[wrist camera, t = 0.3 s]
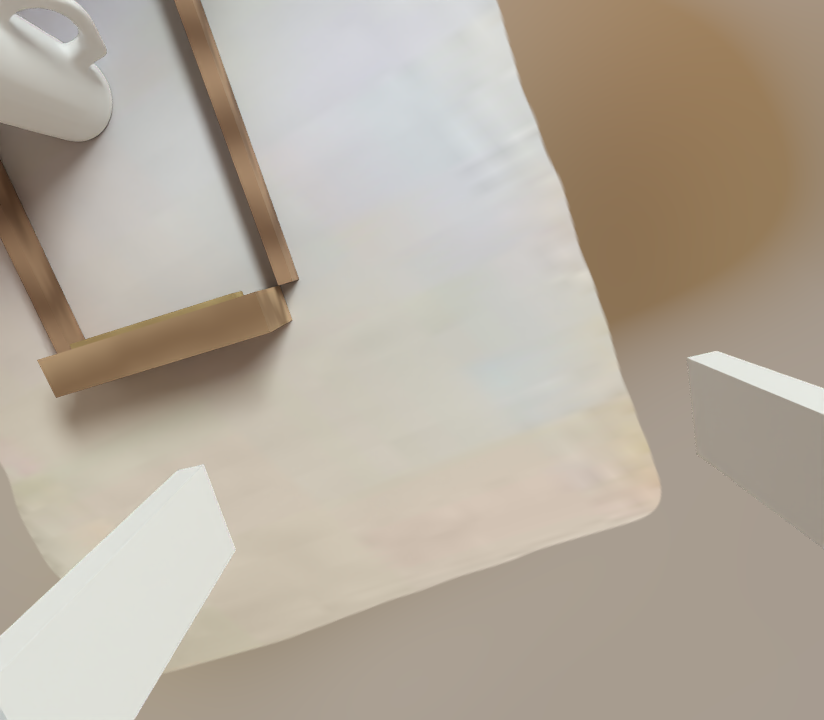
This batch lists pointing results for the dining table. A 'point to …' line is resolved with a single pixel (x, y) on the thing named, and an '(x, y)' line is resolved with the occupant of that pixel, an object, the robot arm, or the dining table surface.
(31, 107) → the mug
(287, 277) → the guide lane
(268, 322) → the end stop
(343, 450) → the dining table surface
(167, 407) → the dining table surface
